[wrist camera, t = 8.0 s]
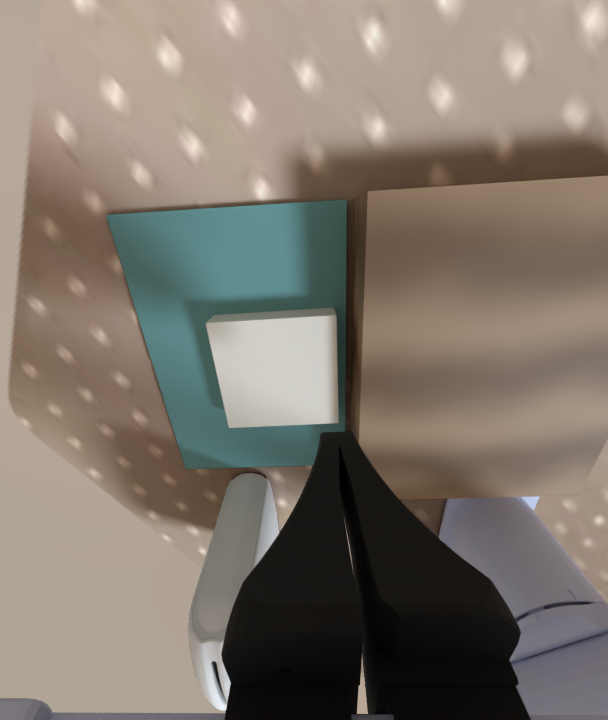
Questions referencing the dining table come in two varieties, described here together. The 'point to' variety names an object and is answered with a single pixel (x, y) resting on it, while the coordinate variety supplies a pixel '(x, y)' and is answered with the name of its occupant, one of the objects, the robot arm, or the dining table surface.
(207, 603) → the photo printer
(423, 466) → the wood grain panel
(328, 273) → the mat
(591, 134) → the dining table surface
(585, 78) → the dining table surface
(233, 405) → the coaster
